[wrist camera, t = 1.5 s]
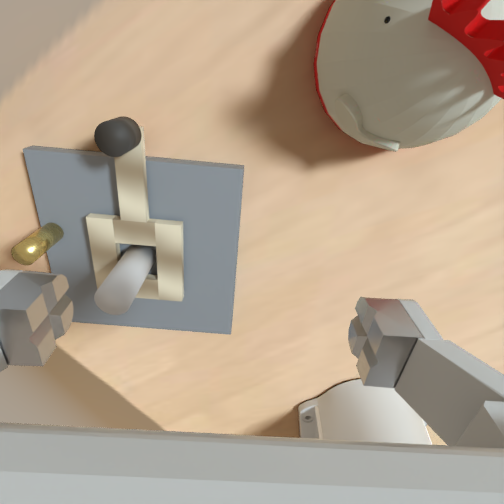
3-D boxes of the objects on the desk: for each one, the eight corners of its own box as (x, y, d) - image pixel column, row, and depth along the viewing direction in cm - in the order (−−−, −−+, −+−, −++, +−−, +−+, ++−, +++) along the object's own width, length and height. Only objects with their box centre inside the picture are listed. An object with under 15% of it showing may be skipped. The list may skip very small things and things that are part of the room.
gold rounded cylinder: (65, 241, 34) (37, 265, 30) (45, 239, 34) (14, 264, 30) (61, 223, 33) (32, 246, 29) (41, 221, 33) (8, 244, 29)
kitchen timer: (408, -105, 23) (612, -345, 10) (522, 38, 27) (779, 4, 14) (280, 76, 28) (299, 80, 15) (390, 174, 32) (482, 245, 19)
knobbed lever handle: (183, 296, 37) (175, 319, 33) (101, 289, 37) (85, 312, 33) (182, 120, 28) (171, 127, 25) (74, 110, 28) (48, 115, 24)
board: (231, 326, 41) (225, 390, 33) (69, 313, 41) (20, 375, 32) (244, 165, 32) (239, 198, 24) (32, 145, 31) (-50, 172, 23)
